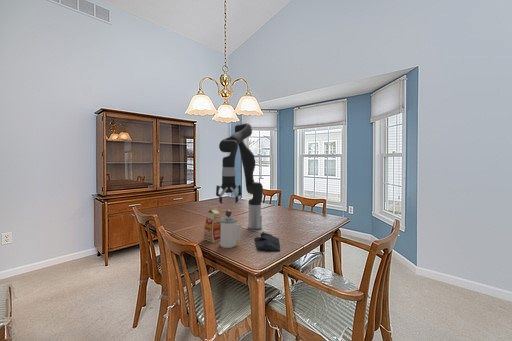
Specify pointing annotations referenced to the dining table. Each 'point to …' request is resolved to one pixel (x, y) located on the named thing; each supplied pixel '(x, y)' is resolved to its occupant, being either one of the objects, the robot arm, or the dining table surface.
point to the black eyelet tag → (267, 242)
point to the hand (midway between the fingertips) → (228, 203)
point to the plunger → (228, 213)
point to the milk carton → (212, 226)
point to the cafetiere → (229, 232)
